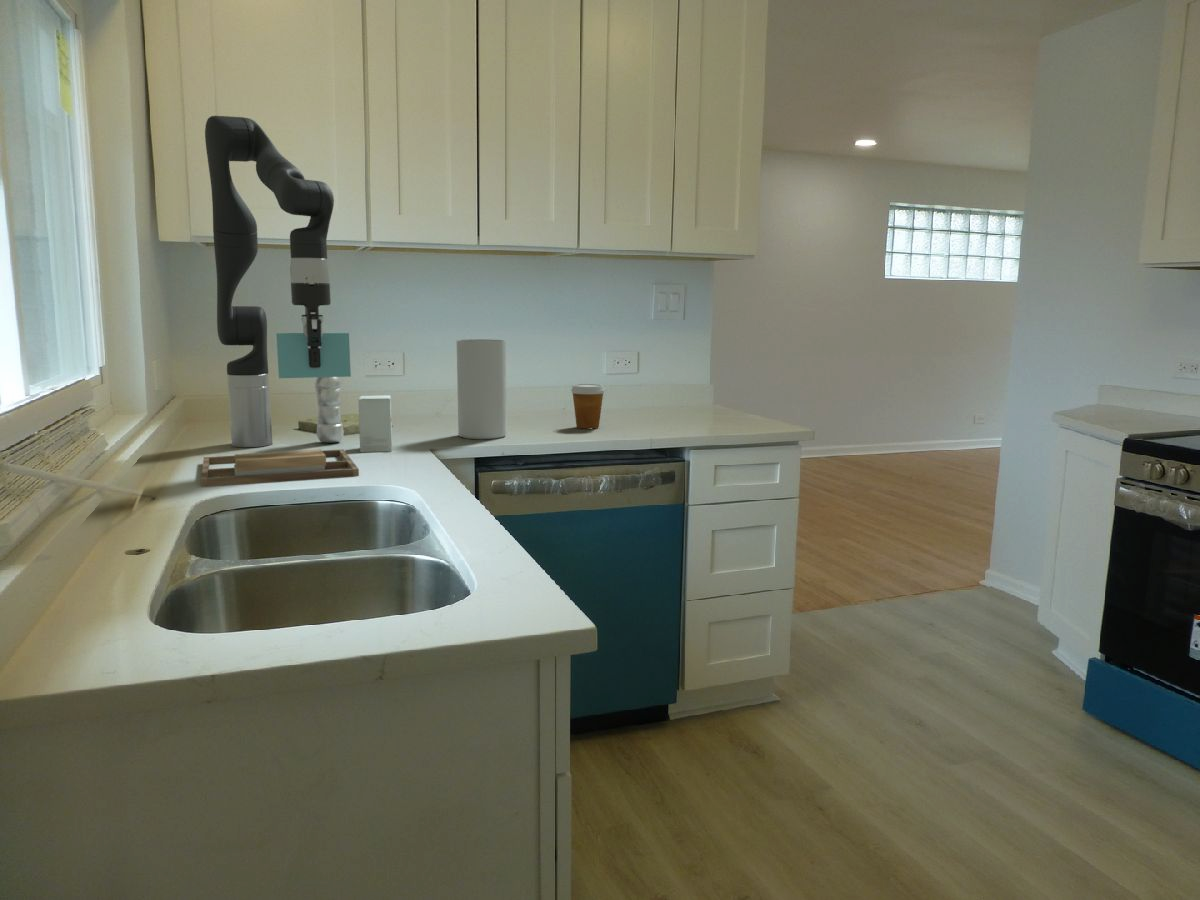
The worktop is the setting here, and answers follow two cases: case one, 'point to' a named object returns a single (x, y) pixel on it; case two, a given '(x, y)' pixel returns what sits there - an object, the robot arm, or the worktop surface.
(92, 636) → the worktop surface
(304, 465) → the oak offcut top
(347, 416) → the decorative tile
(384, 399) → the supplement box
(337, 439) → the plastic bottle
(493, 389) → the cylinder vase
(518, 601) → the worktop surface
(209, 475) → the tray
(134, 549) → the worktop surface
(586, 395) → the disposable coffee cup
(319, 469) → the grey flat panel
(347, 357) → the teal block
